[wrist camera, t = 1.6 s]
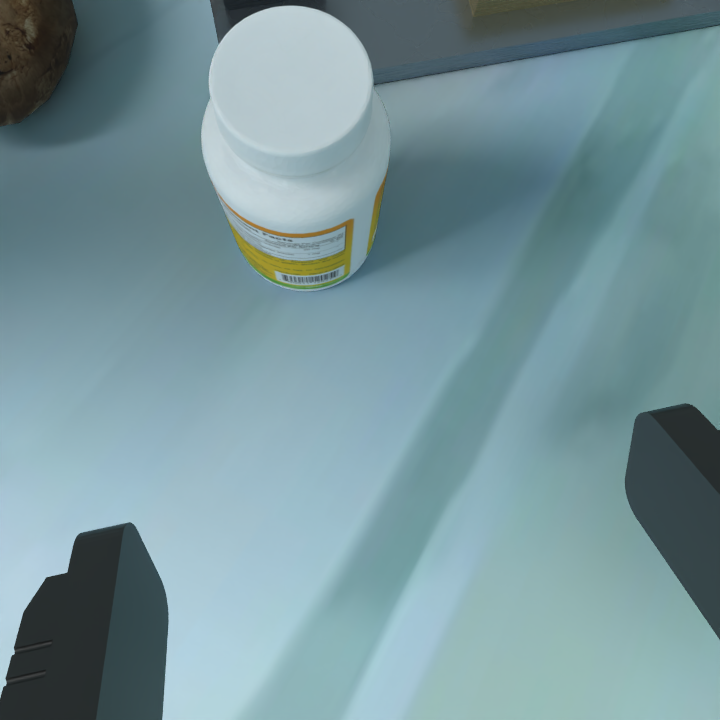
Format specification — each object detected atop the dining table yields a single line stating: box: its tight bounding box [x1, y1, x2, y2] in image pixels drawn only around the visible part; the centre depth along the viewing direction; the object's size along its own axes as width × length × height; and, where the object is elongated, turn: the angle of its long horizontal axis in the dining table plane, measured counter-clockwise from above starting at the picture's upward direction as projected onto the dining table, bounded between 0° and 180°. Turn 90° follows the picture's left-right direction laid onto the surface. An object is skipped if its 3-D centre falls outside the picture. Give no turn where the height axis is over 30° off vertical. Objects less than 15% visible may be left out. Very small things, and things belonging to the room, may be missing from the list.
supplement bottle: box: [201, 6, 391, 291], centre depth 21 cm, size 5×5×10 cm
